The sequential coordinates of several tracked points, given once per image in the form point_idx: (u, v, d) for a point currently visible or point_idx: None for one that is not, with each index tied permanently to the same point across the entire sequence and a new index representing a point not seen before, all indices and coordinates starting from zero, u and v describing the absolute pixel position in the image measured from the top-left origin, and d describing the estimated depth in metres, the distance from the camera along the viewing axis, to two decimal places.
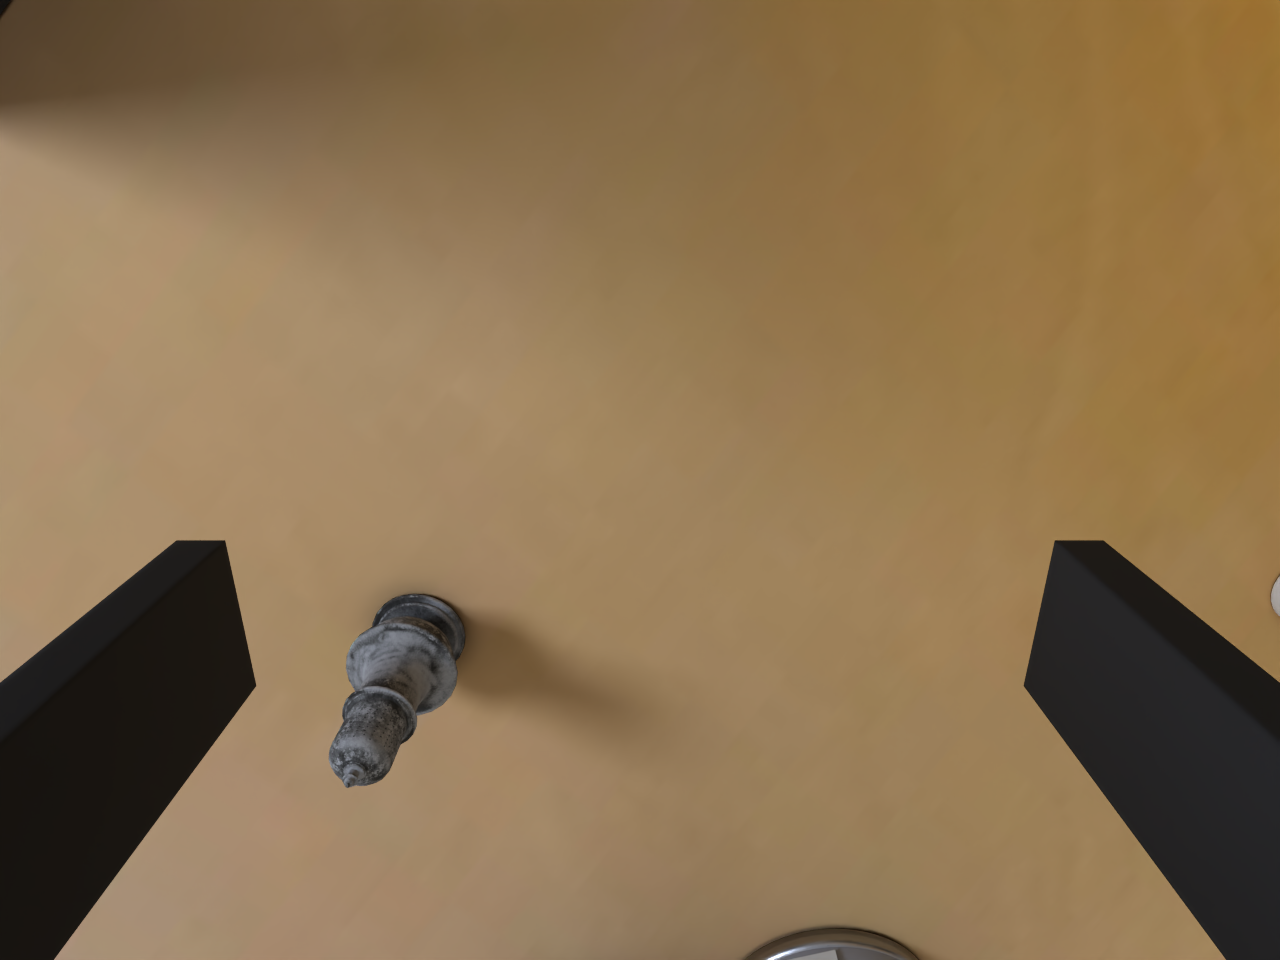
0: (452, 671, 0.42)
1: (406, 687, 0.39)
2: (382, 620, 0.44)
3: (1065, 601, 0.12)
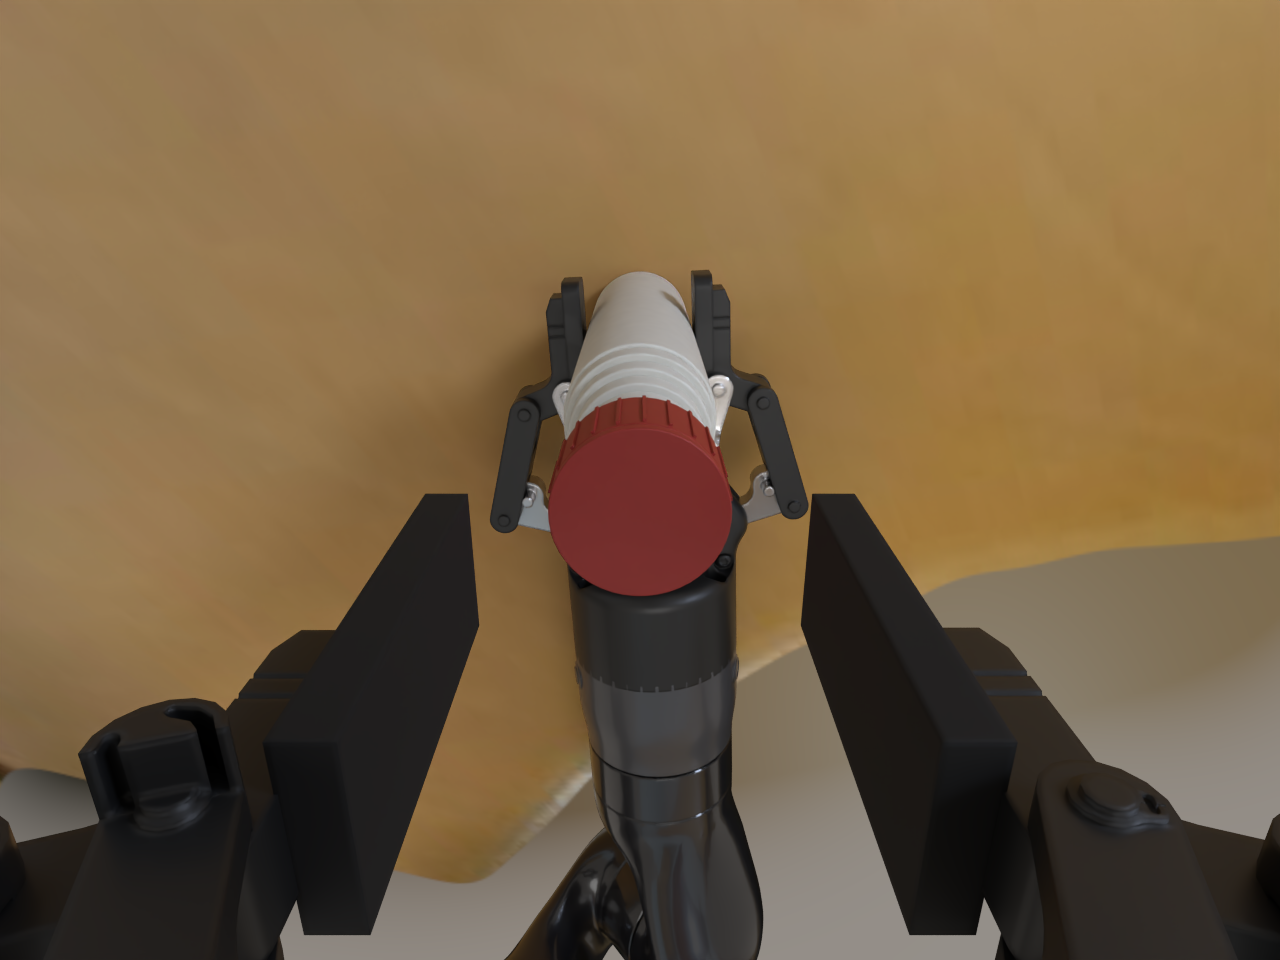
0: None
1: None
2: None
3: (816, 546, 0.14)
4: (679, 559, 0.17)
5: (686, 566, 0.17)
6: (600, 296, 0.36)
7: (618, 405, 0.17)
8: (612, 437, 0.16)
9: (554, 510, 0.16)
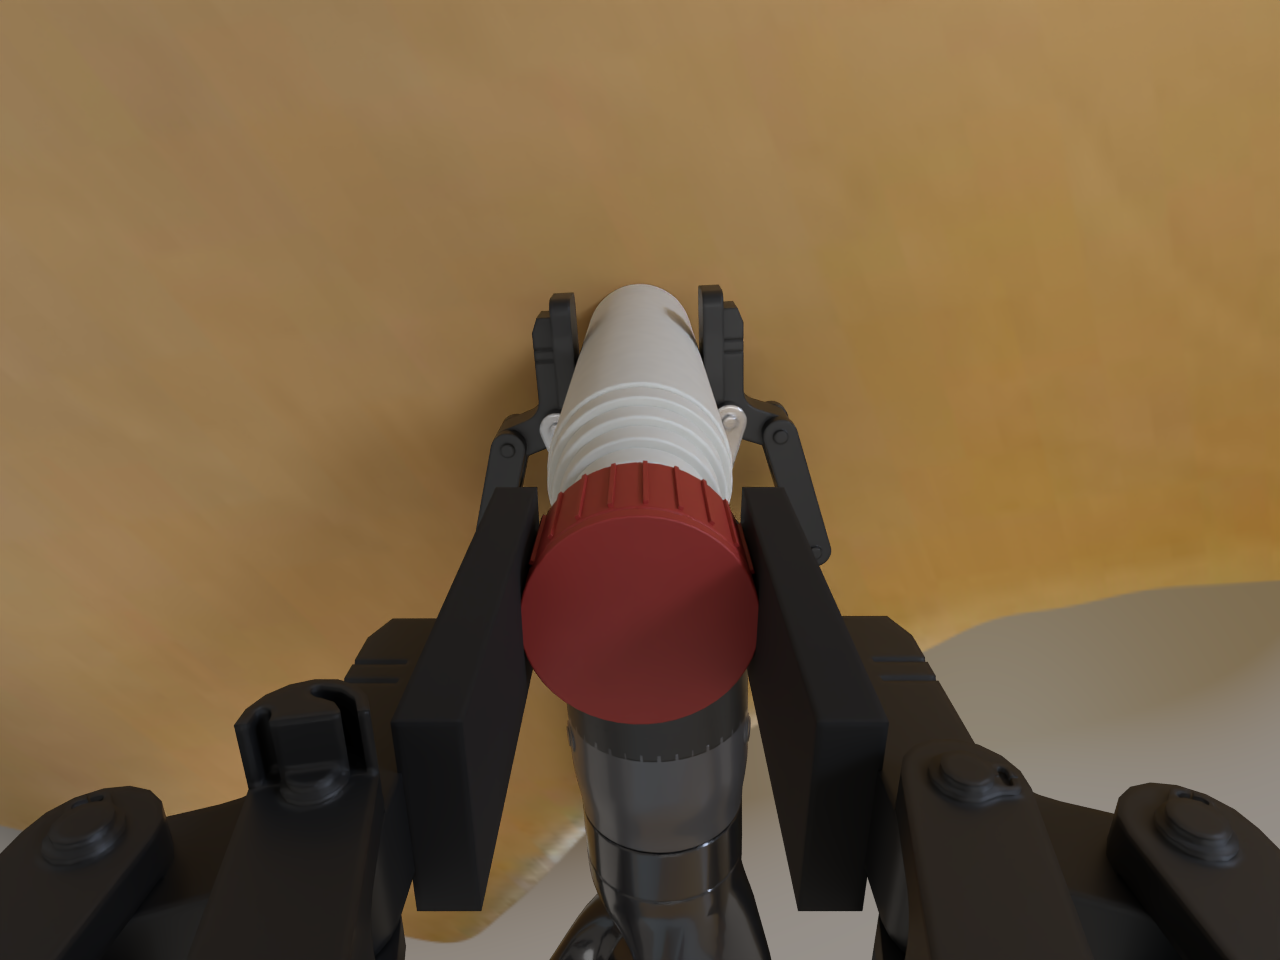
0: None
1: None
2: None
3: None
4: (691, 679, 0.13)
5: (700, 688, 0.13)
6: (595, 312, 0.32)
7: (611, 476, 0.13)
8: (603, 527, 0.12)
9: (527, 619, 0.12)
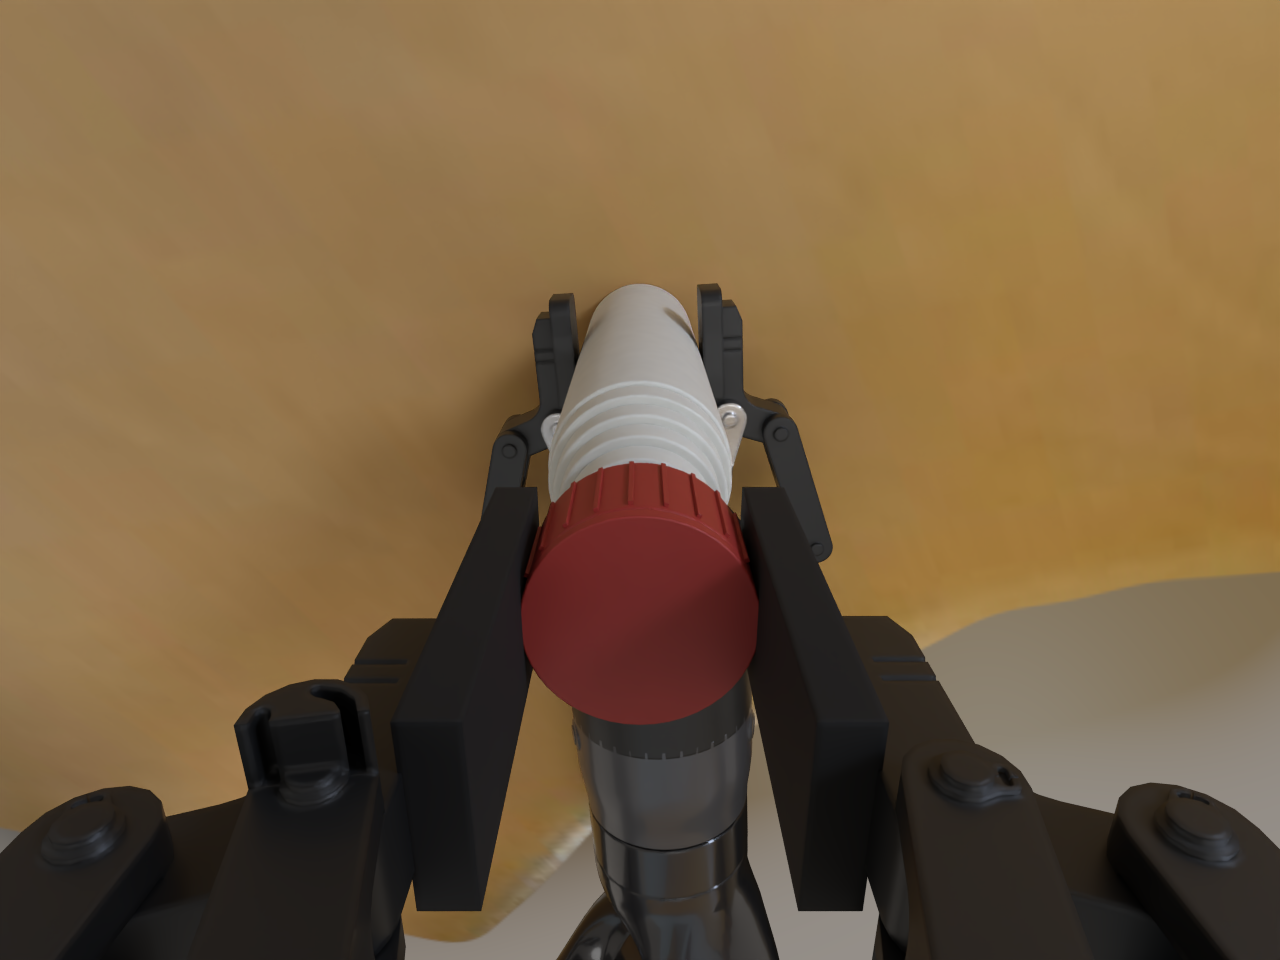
0: None
1: None
2: None
3: (744, 538, 0.14)
4: (643, 552, 0.12)
5: (643, 539, 0.12)
6: (595, 312, 0.32)
7: None
8: (595, 711, 0.13)
9: (714, 695, 0.13)
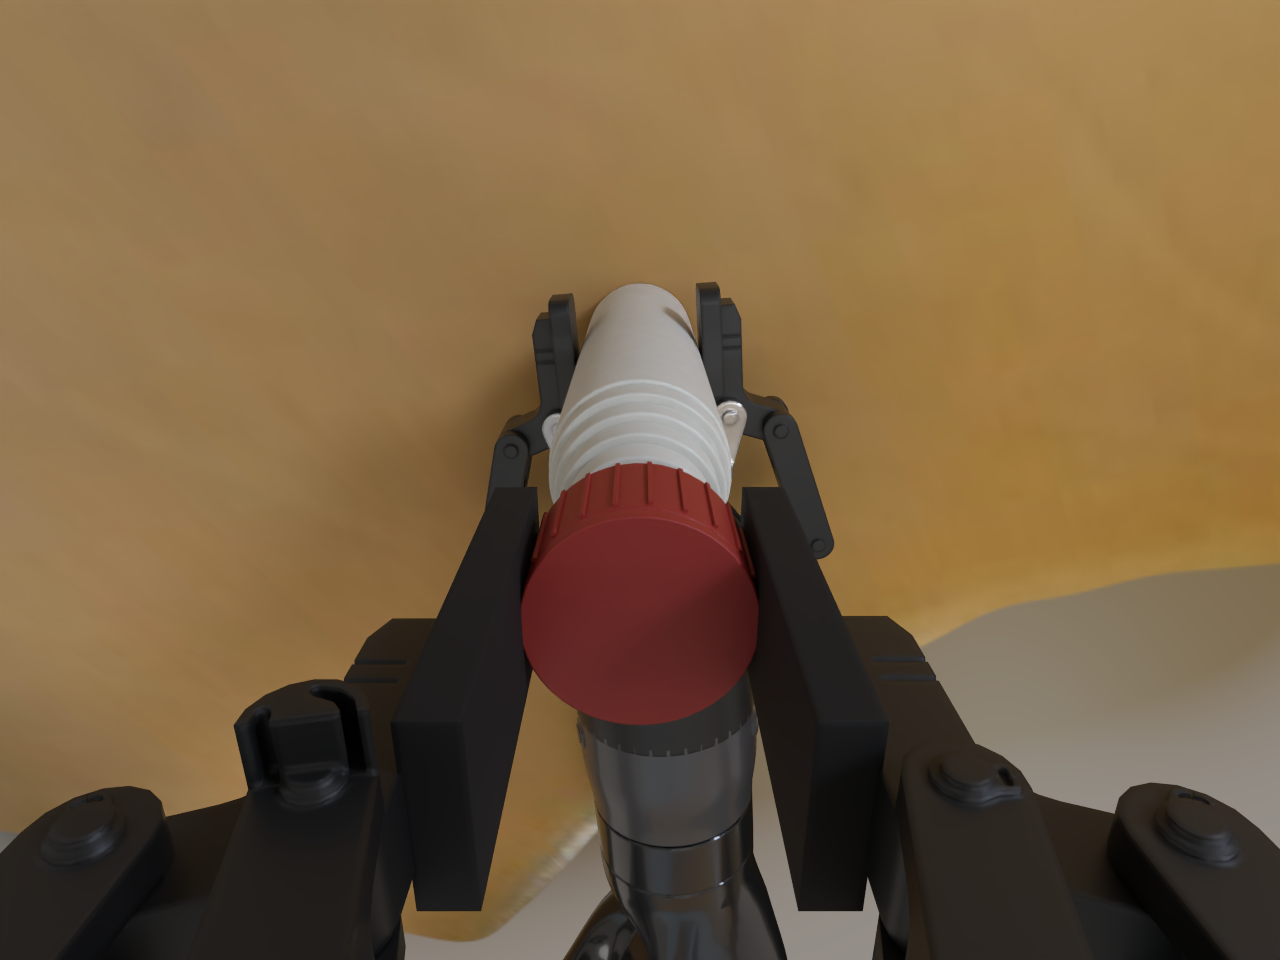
0: None
1: None
2: None
3: None
4: (583, 676, 0.13)
5: (575, 686, 0.13)
6: (595, 312, 0.32)
7: (746, 544, 0.14)
8: (746, 586, 0.12)
9: (637, 526, 0.12)
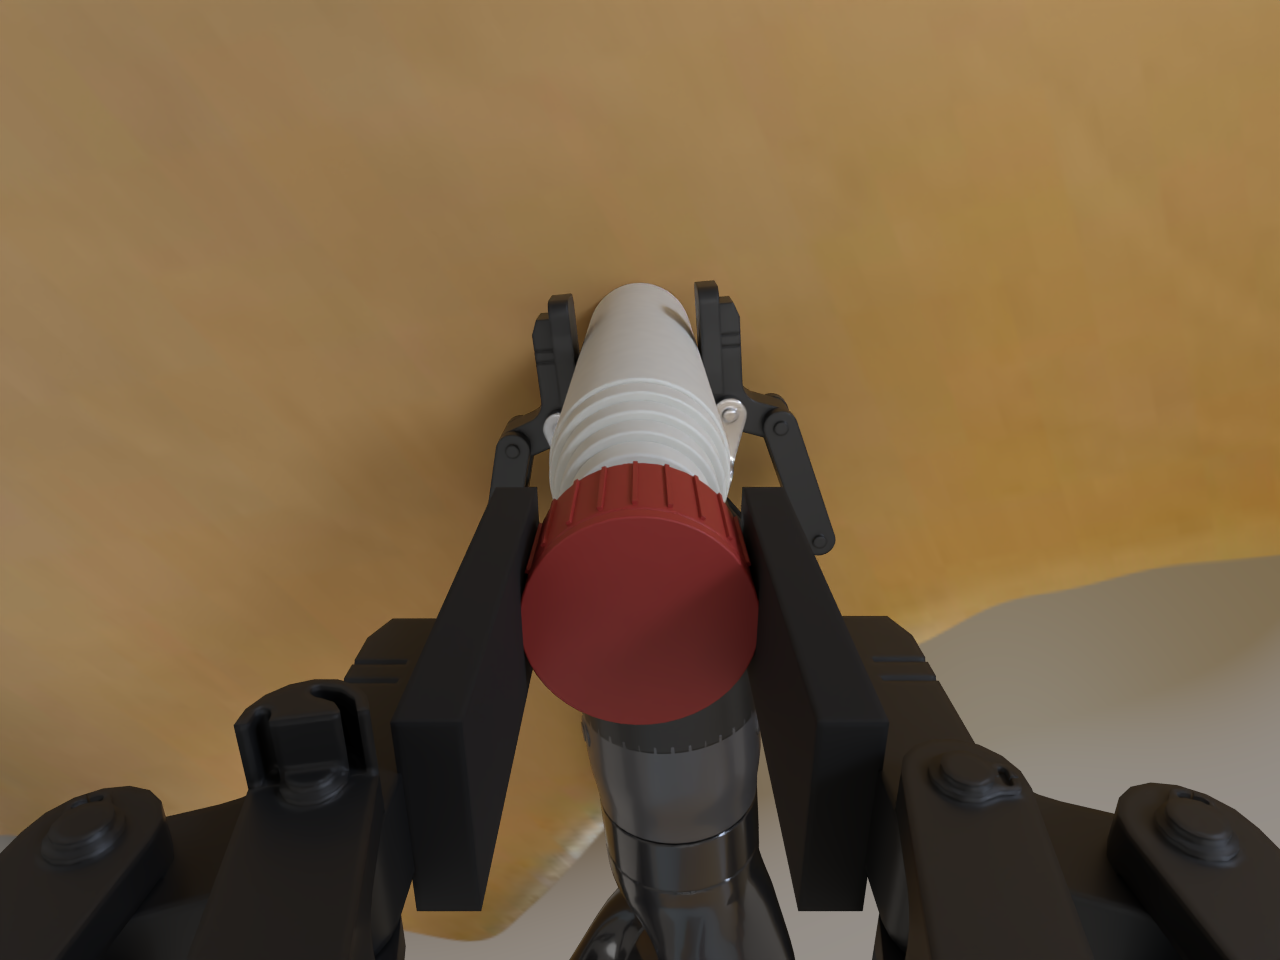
0: None
1: None
2: None
3: (744, 538, 0.14)
4: (722, 622, 0.12)
5: (736, 621, 0.12)
6: (594, 312, 0.32)
7: (534, 539, 0.14)
8: (529, 595, 0.12)
9: (569, 698, 0.13)
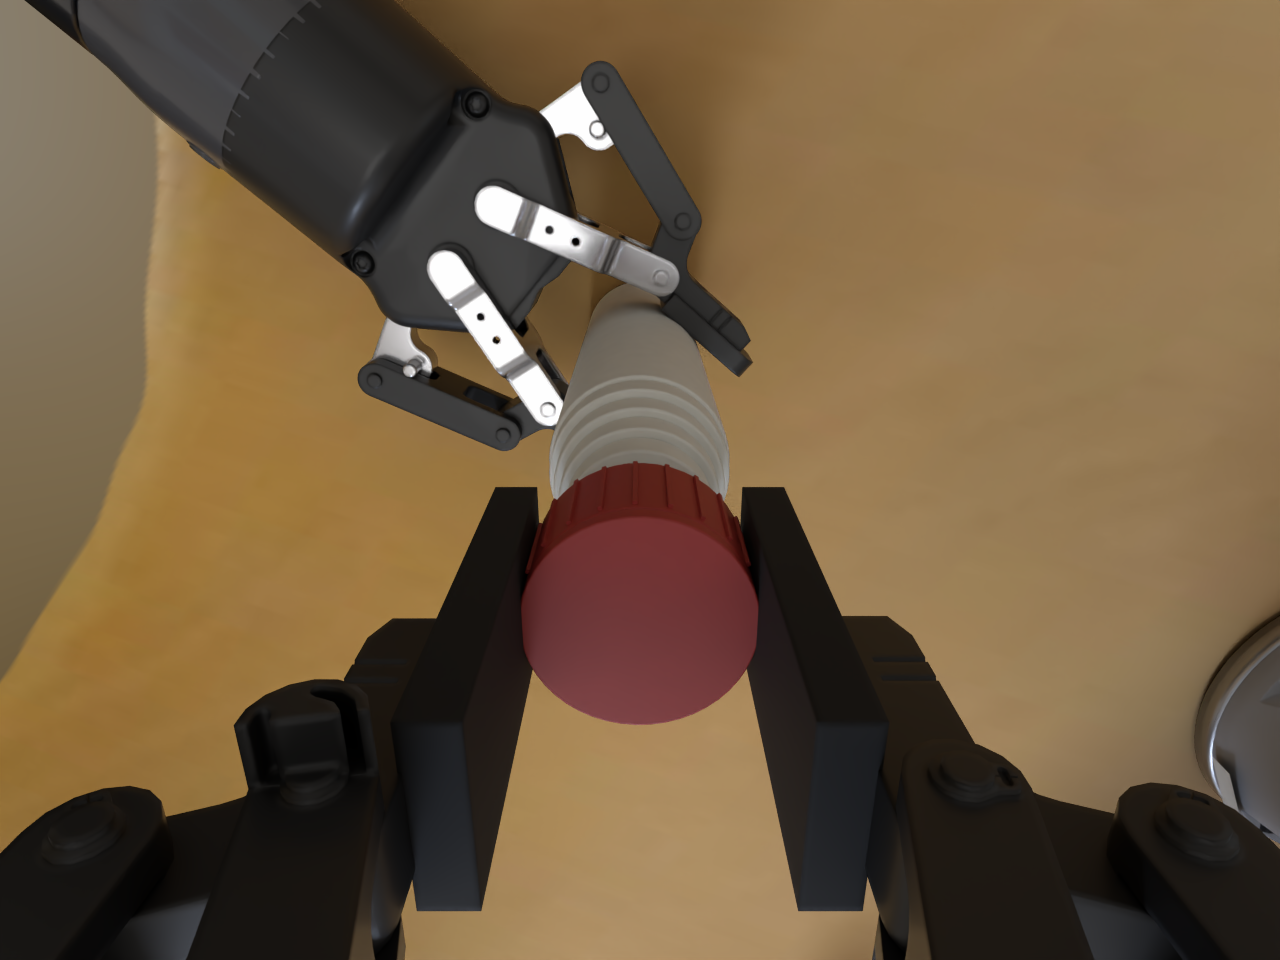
0: None
1: None
2: None
3: (744, 538, 0.14)
4: (722, 622, 0.12)
5: (736, 621, 0.12)
6: None
7: (534, 539, 0.14)
8: (529, 595, 0.12)
9: (569, 698, 0.13)
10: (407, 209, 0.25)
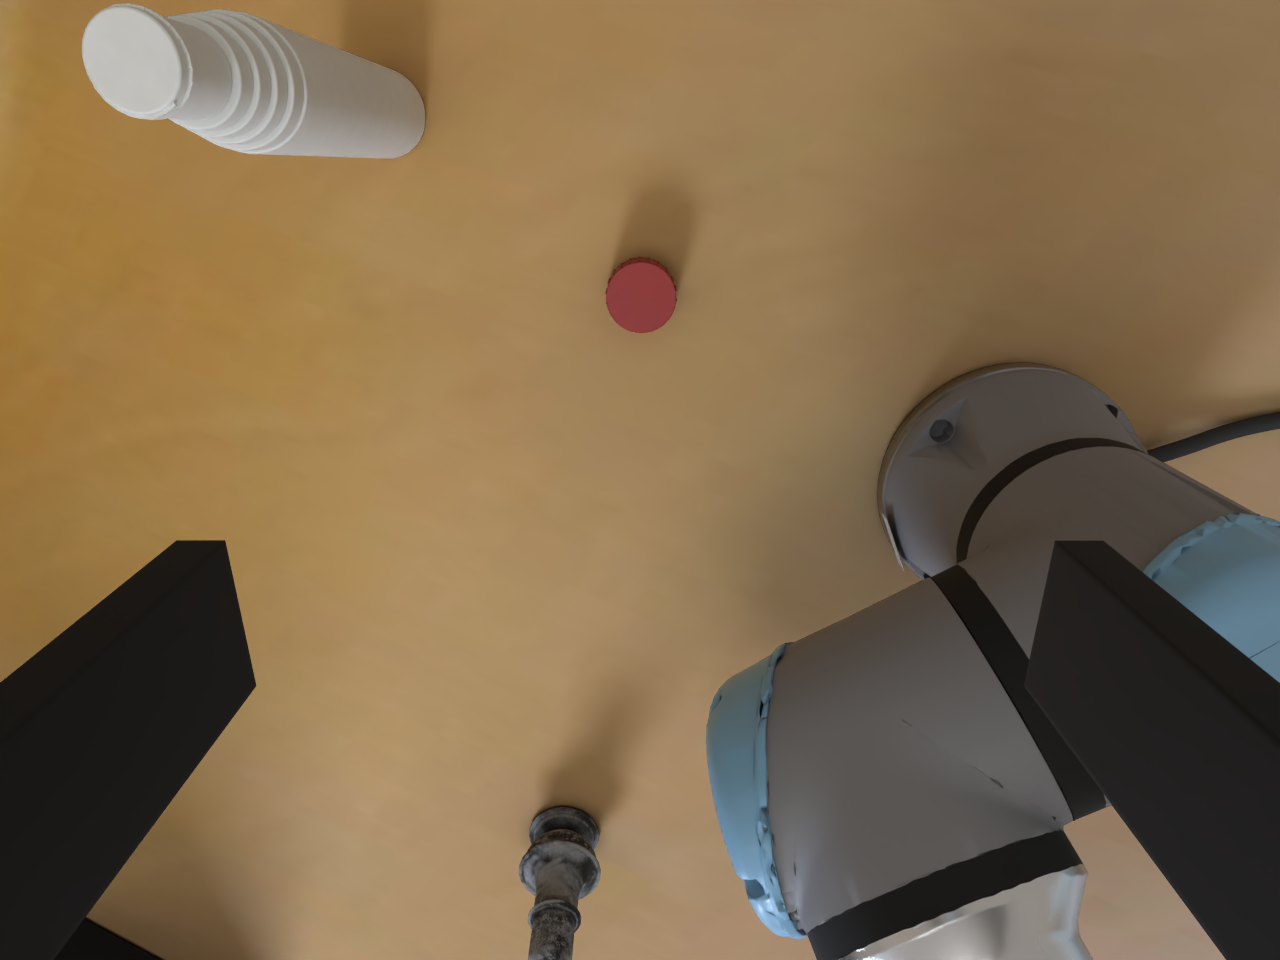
0: (553, 845, 0.56)
1: (539, 895, 0.54)
2: None
3: (1065, 601, 0.12)
4: (665, 296, 0.43)
5: (669, 296, 0.43)
6: (416, 105, 0.41)
7: None
8: (609, 287, 0.43)
9: (620, 323, 0.44)
10: None
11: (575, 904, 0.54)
